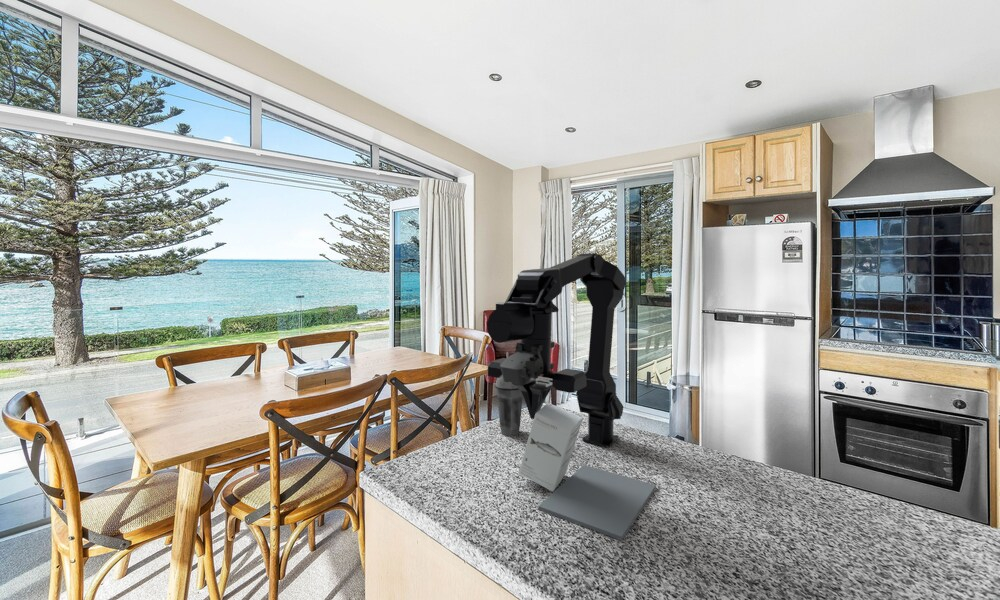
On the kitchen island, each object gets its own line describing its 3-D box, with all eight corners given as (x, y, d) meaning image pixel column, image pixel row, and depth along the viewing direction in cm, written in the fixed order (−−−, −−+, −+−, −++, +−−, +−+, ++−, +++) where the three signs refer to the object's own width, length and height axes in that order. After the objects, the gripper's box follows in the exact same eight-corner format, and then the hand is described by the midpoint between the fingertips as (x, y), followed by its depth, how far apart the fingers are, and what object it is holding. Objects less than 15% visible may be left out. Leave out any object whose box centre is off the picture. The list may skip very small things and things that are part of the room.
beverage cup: (530, 430, 103) (530, 350, 102) (515, 440, 97) (515, 355, 96) (505, 424, 107) (504, 347, 106) (489, 434, 101) (488, 352, 100)
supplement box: (516, 474, 77) (533, 412, 75) (532, 458, 83) (548, 401, 81) (553, 494, 74) (572, 429, 71) (566, 475, 80) (584, 416, 78)
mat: (583, 467, 83) (583, 464, 83) (655, 488, 75) (655, 484, 75) (538, 509, 69) (538, 506, 69) (621, 540, 61) (621, 536, 61)
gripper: (469, 336, 77) (468, 419, 78) (560, 349, 66) (557, 445, 67) (504, 330, 86) (503, 404, 87) (589, 340, 75) (586, 425, 76)
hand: (533, 418), depth 79 cm, fingers closed
